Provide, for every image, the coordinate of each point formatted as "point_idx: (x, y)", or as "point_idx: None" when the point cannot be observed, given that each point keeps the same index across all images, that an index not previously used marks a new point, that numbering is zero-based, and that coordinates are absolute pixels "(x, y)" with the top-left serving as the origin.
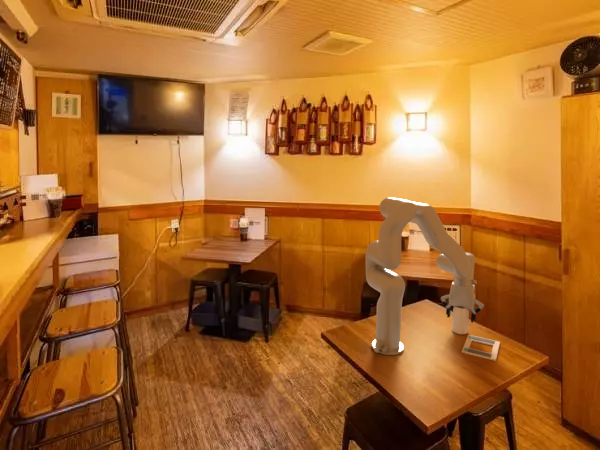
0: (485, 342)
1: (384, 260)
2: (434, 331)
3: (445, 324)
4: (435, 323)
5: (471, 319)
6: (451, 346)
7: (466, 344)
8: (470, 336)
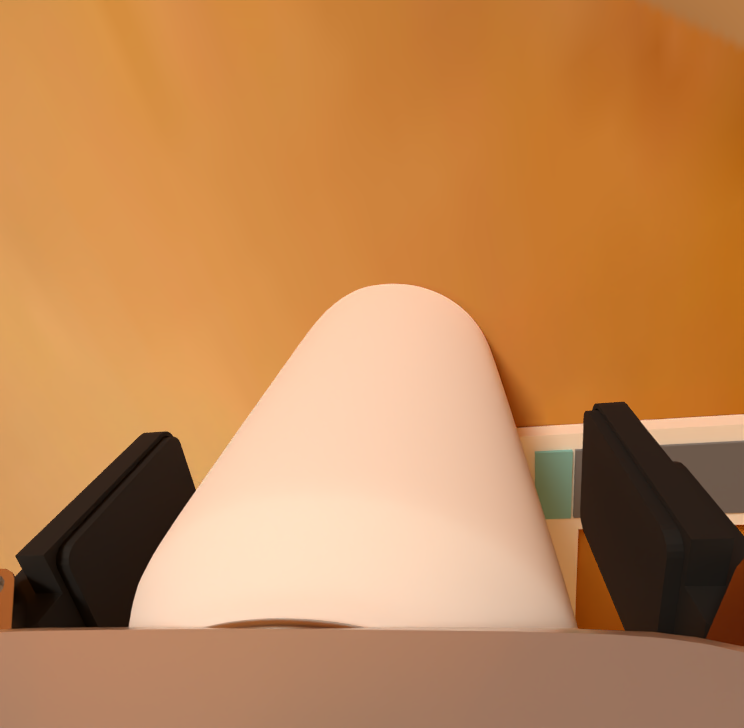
0: (732, 519)
1: None
2: None
3: (180, 277)
4: (82, 326)
5: (605, 566)
6: None
7: None
8: (551, 477)
